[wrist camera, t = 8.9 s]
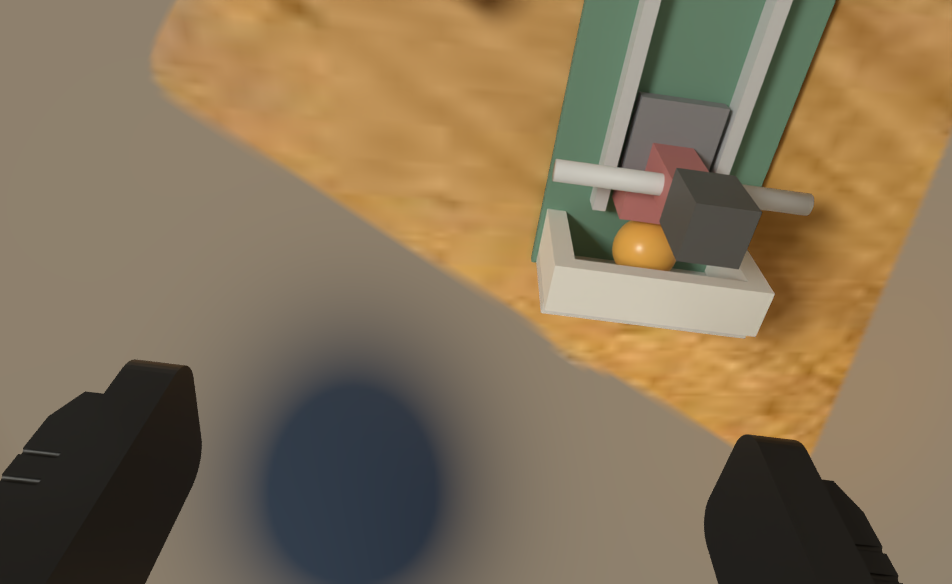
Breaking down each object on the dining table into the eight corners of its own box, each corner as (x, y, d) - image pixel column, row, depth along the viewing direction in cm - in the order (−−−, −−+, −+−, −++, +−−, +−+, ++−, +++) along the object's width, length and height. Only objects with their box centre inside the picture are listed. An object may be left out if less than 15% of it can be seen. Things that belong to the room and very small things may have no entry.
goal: (547, 208, 43) (555, 265, 37) (737, 234, 43) (774, 294, 37) (536, 261, 45) (541, 322, 39) (717, 284, 45) (750, 349, 39)
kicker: (561, 80, 38) (581, 154, 29) (801, 114, 39) (897, 198, 29) (539, 185, 41) (551, 281, 32) (760, 215, 42) (834, 318, 33)
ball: (605, 289, 42) (604, 238, 44) (667, 297, 42) (663, 246, 45) (624, 252, 39) (621, 199, 41) (691, 261, 39) (685, 208, 41)
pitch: (609, -124, 33) (615, -122, 32) (862, -83, 34) (881, -80, 32) (531, 257, 45) (532, 272, 44) (719, 281, 46) (727, 298, 44)
